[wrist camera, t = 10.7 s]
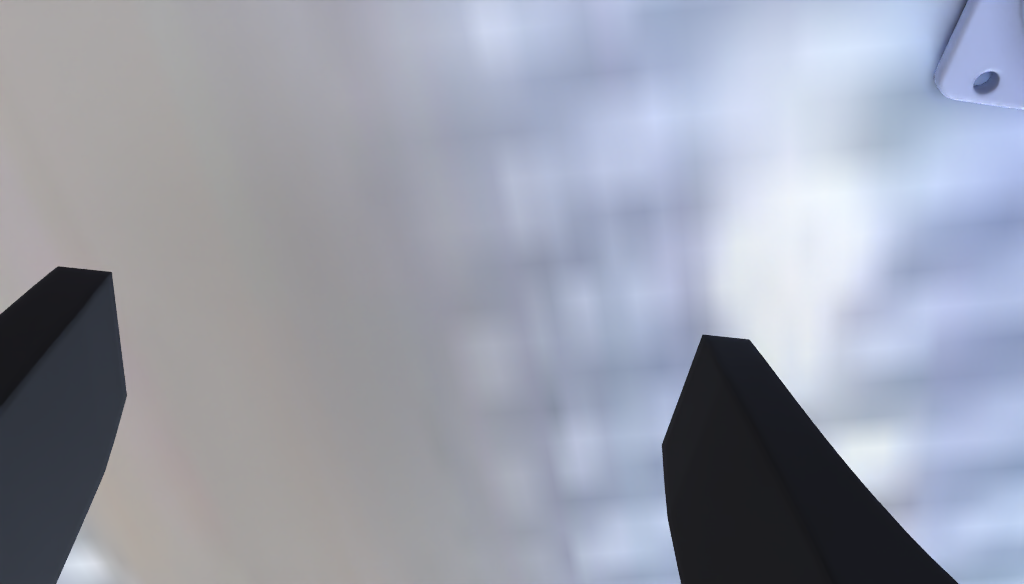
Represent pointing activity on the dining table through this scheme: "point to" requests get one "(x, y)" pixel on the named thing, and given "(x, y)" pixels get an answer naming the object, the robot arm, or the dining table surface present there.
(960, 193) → the dining table surface
